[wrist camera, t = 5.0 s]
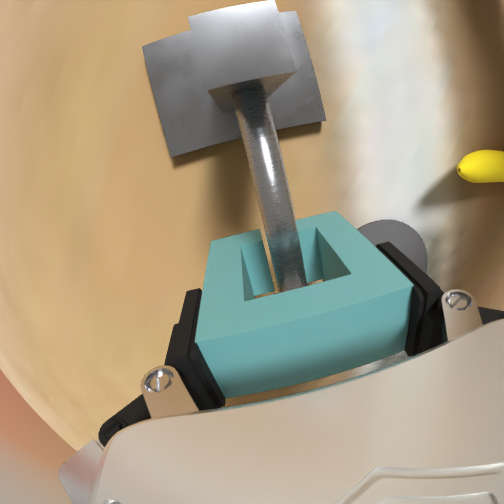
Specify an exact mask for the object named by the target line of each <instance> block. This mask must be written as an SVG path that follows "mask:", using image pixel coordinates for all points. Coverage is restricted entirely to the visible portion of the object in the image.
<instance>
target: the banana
mask: <svg viewBox="0 0 504 504" xmlns="http://www.w3.org/2000/svg"><path fill="white" fill-rule="evenodd" d="M457 171H458V174H459V175H460V176H461V177H462V178H463V179H465V180H467V181H469V182H473V183H486V182H504V151H497V150H479V151H476V152H473V153H470V154H467V155H465V157H464V158H463V159H462V160H461V161H460V162H459V164H458V165H457Z"/></svg>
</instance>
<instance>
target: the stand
mask: <svg viewBox="0 0 504 504" xmlns="http://www.w3.org/2000/svg"><path fill="white" fill-rule="evenodd" d="M188 20H189V24H190V27H191V30H189V31H186V32H183V33H179V34H176V35H173V36H170V37H167V38H164V39H161V40H158V41H156V42H153V43H150V44H148V45H145V46H142V49H143V53H144V57H145V62H146V66H147V70H148V74H149V78H150V82H151V86H152V90H153V94H154V98H155V102H156V105H157V109H158V113H159V117H160V120H161V124H162V128H163V131H164V135H165V138H166V142H167V145H168V149H169V152H170V156H171V157H175V156H178V155H181V154H184V153H187V152H191V151H194V150H197V149H201V148H204V147H208V146H211V145H215V144H219V143H222V142H226V141H230V140H234V139H238V138H242V140H243V144H244V148H245V152H246V156H247V160H248V163H249V167H250V171H251V175H252V179H253V183H254V187H255V191H256V195H257V200H258V204H259V208H260V212H261V216H262V220H263V224H264V228H265V232H266V237H267V241H268V245H269V249H270V253H271V258H272V262H273V266H274V270H275V275H276V279H277V283H278V288H279V292H280V293H282V292H286V291H290V290H294V289H298V288H302V287H305V286H307V280H306V274H305V268H304V262H303V257H302V251H301V246H300V240H299V235H298V230H297V225H296V220H295V215H294V210H293V205H292V200H291V195H290V190H289V185H288V181H287V176H286V172H285V167H284V163H283V158H282V154H281V149H280V145H279V141H278V137H277V132H276V130H277V129H282V128H287V127H292V126H298V125H303V124H309V123H315V122H321V121H326V117H325V113H324V108H323V104H322V100H321V96H320V91H319V87H318V83H317V80H316V76H315V72H314V68H313V65H312V61H311V57H310V54H309V50H308V47H307V44H306V40H305V37H304V34H303V31H302V28H301V25H300V22H299V19H298V16H297V13H296V11H289V12H278V9H277V6H276V3H275V1H274V0H269V1H261V2H254V3H248V4H242V5H237V6H231V7H226V8H222V9H217V10H213V11H209V12H205V13H201V14H197V15H193V16H190V17H188Z"/></svg>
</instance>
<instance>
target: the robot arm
mask: <svg viewBox="0 0 504 504" xmlns="http://www.w3.org/2000/svg"><path fill="white" fill-rule="evenodd" d="M376 248H377V249H378V250H379V251H380V252H381V253H382V254H383V255H384V256H385V257H386V258H387V259H388V260H390V261H391V262H392V263H393V264H394V265H395V266H396V267H397V268H398V269H399V270H400V271H401V272H402V273H403V274H404V275H405V276H406V277H407V278H408V279H409V280H410V281H411V283H412V284H413V285H414V286H412V295H411V306H410V315H409V323H408V331H407V338H406V344H405V352H406V353H407V355H408V356H412V357H410V358H408V359H405V360H403V361H400V362H397V363H395V364H392V365H389V366H387V367H384V368H381V369H378V370H375V371H373V372H370V373H367V374H364V375H361V376H358V377H354V378H351V379H348V380H345V381H342V382H338V383H335V384H331V385H328V386H324V387H320V388H317V389H313V390H309V391H305V392H301V393H297V394H293V395H288V396H284V397H279V398H275V399H270V400H265V401H260V402H254V403H249V404H243V405H237V406H231V407H224V408H221V407H223V406H225V397H224V395H223V393H222V391H221V389H220V387H219V386H218V384H217V382H216V380H215V378H214V376H213V374H212V372H211V370H210V368H209V366H208V364H207V363H206V361H205V359H204V357H203V355H202V353H201V351H200V349H199V346H198V344H197V343H195V337H196V330H197V323H198V316H199V310H200V303H201V297H202V290H201V289H200V288H198V289H194V290H189V291H187V292H186V296H185V300H184V304H183V308H182V312H181V316H180V320H179V323H178V324H175V325H174V327H173V331H172V335H171V339H170V343H169V347H168V351H167V355H166V359H165V364H164V366H158V367H155V368H153V369H152V370H150V371H149V372H147V373H146V374H145V376H144V377H143V379H142V381H141V390H142V393H143V394H141V395H140V396H139V397H138V398H136V399H135V400H134V401H132V402H131V403H130V404H128V405H127V406H126V407H124V408H123V409H122V410H120V411H119V412H118V413H116V414H115V415H114V416H112V417H111V418H110V419H108V420H107V421H106V422H105V423H104V424H103V425H102V427H101V428H100V431H99V439H98V440H97V441H95V440H94V439H93V440H91V441H90V442H89V443H88V444H87V445H85V446H84V447H83V448H82V449H80V450H79V451H78V452H77V453H76V454H74V455H73V456H72V457H71V458H69V459H68V460H67V461H66V462H65V463H63V465H62V466H61V467H60V470H59V479H60V482H61V484H62V485H63V487H64V489H65V491H66V492H67V494H68V496H69V497H70V499H71V501H72V502H73V504H504V311H500V310H494V309H488V308H482V307H477V303H476V300H475V298H474V296H473V295H471V294H470V293H469V292H467V291H464V290H461V289H453V290H449V291H447V292H446V293H444V292H443V291H442V290H441V289H440V287H439V286H438V285H437V284H436V283H435V282H434V281H433V280H432V279H431V278H430V277H429V276H428V275H427V274H425V273H424V272H423V271H422V270H421V269H420V268H419V267H418V266H417V265H416V264H414V263H413V262H412V261H411V260H410V259H409V258H408V257H407V256H406V255H404V254H403V253H402V252H401V251H400V250H399V249H397V248H396V247H395V246H394V245H393V244H392V243H390V242H389V241H387V242H384V243H380V244H377V245H376Z"/></svg>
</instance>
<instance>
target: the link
mask: <svg viewBox="0 0 504 504" xmlns="http://www.w3.org/2000/svg"><path fill="white" fill-rule="evenodd" d="M296 225H297V230H298V235H299V240H300V246H301V251H302V257H303V262H304V268H305V274H306V280H307V283H309V282H313V281H316V280H320V279H324V280H325V281H324V282H321V283H317V284H313V285H309V286H305V287H302V288H298V289H294V290H290V291H286V292H282V293H278V294H273V295H269V296H265V297H261V298H257V299H255V296H256V295H260V294H265V293H269V292H273V291H275V290H274V286H273V282H272V277H271V273H270V269H269V265H268V261H267V257H266V253H265V248H264V244H263V240H262V236H261V232H260V229H257V230H253V231H249V232H245V233H241V234H237V235H233V236H229V237H225V238H221V239H217V240H214V241H211V244H210V250H209V255H208V261H207V267H206V273H205V279H204V285H203V291H202V297H201V303H200V310H199V316H198V323H197V330H196V337H195V343H197V344H198V346H199V349H200V351H201V353H202V355H203V357H204V359H205V361H206V363H207V364H208V366H209V368H210V370H211V372H212V374H213V376H214V378H215V380H216V382H217V384H218V386H219V387H220V389H221V391H222V393H223V395H224V397H225V398H231V397H237V396H243V395H249V394H254V393H259V392H264V391H269V390H274V389H279V388H283V387H288V386H292V385H296V384H300V383H304V382H308V381H312V380H316V379H320V378H323V377H327V376H330V375H334V374H337V373H341V372H344V371H347V370H350V369H353V368H357V367H360V366H363V365H366V364H369V363H372V362H374V361H377V360H380V359H383V358H386V357H388V356H391V355H394V354H396V353H399V352H401V351H404V350H405V344H406V338H407V331H408V323H409V315H410V306H411V295H412V286H414V285H413V284H412V283H411V281H410V280H409V279H408V278H407V277H406V276H405V275H404V274H403V273H402V272H401V271H400V270H399V269H398V268H397V267H396V266H395V265H394V264H393V263H392V262H391V261H390V260H388V259H387V258H386V257H385V256H384V255H383V254H382V253H381V252H380V251H379V250H378V249H377V248H376V247H375V246H374V245H373V244H372V243H371V242H370V241H369V240H367V239H366V238H365V237H364V236H363V235H362V234H361V233H360V232H359V231H358V230H357V229H355V228H354V227H353V226H352V225H351V224H350V223H349V222H348V221H347V220H345V219H344V218H343V217H342V216H341V215H340V214H339V213H337V212H336V211H333V212H328V213H324V214H320V215H316V216H311V217H307V218H303V219H299V220H296Z"/></svg>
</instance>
